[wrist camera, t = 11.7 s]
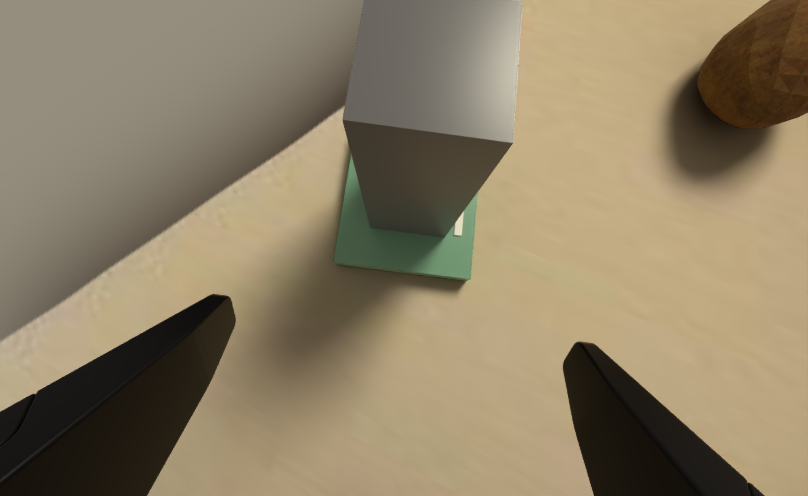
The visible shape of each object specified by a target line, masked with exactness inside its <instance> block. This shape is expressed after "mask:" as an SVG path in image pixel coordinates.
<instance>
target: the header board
mask: <svg viewBox="0 0 808 496" xmlns="http://www.w3.org/2000/svg"><path fill="white" fill-rule="evenodd" d="M477 195H478V192H477V194H476V195H475V196H474V198H473V199H472V200H471V202H470V203H469V205H468V206H467V207H466V209H465V210H464V212H463V213H462V214H461V216H460V217H459V218H458V220H457V221H456V223H455V224H454V225H453V227H452V228H451V230H450V231H449V232H448V234H447V235H446V236H445V238H444V237H437V236H429V235H421V234H414V233H406V232H399V231H391V230H383V229H376V228H370V225H369V221H368V217H367V213H366V209H365V205H364V202H363V198H362V194H361V190H360V186H359V182H358V178H357V174H356V170H355V166H354V163H353V159H352V155H351V158H350V164H349V170H348V176H347V182H346V188H345V194H344V200H343V206H342V212H341V218H340V224H339V230H338V236H337V242H336V248H335V254H334V260H333V262H334V263H335V264H337V265H345V266H353V267H361V268H369V269H377V270H385V271H392V272H400V273H408V274H416V275H424V276H432V277H440V278H447V279H455V280H463V281H467V280H470V278H471V266H472V254H473V242H474V230H475V219H476V207H477Z"/></svg>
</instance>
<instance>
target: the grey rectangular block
mask: <svg viewBox="0 0 808 496" xmlns="http://www.w3.org/2000/svg"><path fill="white" fill-rule="evenodd" d="M522 2H523V1H520V0H364V3H363V9H362V14H361V20H360V25H359V31H358V36H357V42H356V48H355V53H354V59H353V64H352V70H351V75H350V81H349V87H348V92H347V98H346V103H345V109H344V114H343V124H344V128H345V131H346V135H347V139H348V143H349V147H350V151H351V155H352V159H353V163H354V166H355V170H356V174H357V178H358V182H359V186H360V190H361V194H362V198H363V202H364V205H365V209H366V213H367V217H368V221H369V225H370V228H376V229H383V230H391V231H399V232H406V233H414V234H421V235H429V236H437V237H444V238H445V236H446V235H447V234H448V232H449V231H450V230H451V228H452V227H453V225H454V224H455V223H456V221H457V220H458V218H459V217H460V216H461V214H462V213H463V212H464V210H465V209H466V207H467V206H468V205H469V203H470V202H471V200H472V199H473V198H474V196H475V195H476V194H477V192H478V191H479V189H480V188H481V187H482V185H483V184H484V182H485V181H486V180H487V178H488V177H489V176H490V174H491V173H492V171H493V170H494V169H495V167H496V166H497V165H498V163H499V162H500V160H501V159H502V158H503V156H504V155H505V153H506V152H507V151H508V149H509V148H510V147H511V145H512V144H513V137H514V122H515V107H516V92H517V77H518V62H519V47H520V32H521V17H522Z"/></svg>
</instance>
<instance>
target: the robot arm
mask: <svg viewBox="0 0 808 496" xmlns="http://www.w3.org/2000/svg"><path fill="white" fill-rule="evenodd" d="M235 322H236V318H235V314H234V309H233V305H232V301H231V298H230V297H229V296H226V295H218V294H212V295H209V296H207V297H206V298H204V299H202V300H200V301H198V302H197V303H195V304H193V305H191V306H190V307H188V308H186V309H184V310H182V311H181V312H179V313H177V314H175V315H173V316H172V317H170V318H168V319H166V320H164V321H163V322H161V323H159V324H157V325H155V326H154V327H152V328H150V329H148V330H146V331H145V332H143V333H141V334H139V335H137V336H136V337H134V338H132V339H130V340H129V341H127V342H125V343H123V344H121V345H120V346H118V347H116V348H114V349H112V350H111V351H109V352H107V353H105V354H103V355H102V356H100V357H98V358H96V359H94V360H93V361H91V362H89V363H87V364H85V365H84V366H82V367H80V368H78V369H76V370H75V371H73V372H71V373H69V374H68V375H66V376H64V377H62V378H60V379H59V380H57V381H55V382H53V383H51V384H50V385H48V386H46V387H44V388H42V389H41V390H39V391H38V392H37V393H36V394H31V395H30V396H28V397H26V398H24V399H22V400H21V401H19V402H17V403H15V404H13V405H12V406H10V407H8V408H6V409H4V410H3V411H1V412H0V496H147V495H148V493H149V491H150V489H151V488H152V486H153V484H154V482H155V480H156V479H157V477H158V475H159V473H160V472H161V470H162V468H163V466H164V464H165V463H166V461H167V459H168V457H169V456H170V454H171V452H172V450H173V448H174V447H175V445H176V443H177V441H178V439H179V438H180V436H181V434H182V432H183V431H184V429H185V427H186V425H187V423H188V422H189V420H190V418H191V416H192V415H193V413H194V411H195V409H196V407H197V406H198V404H199V402H200V400H201V399H202V397H203V395H204V393H205V391H206V389H207V388H208V386H209V384H210V382H211V380H212V378H213V375H214V373H215V371H216V369H217V366H218V364H219V362H220V359H221V357H222V355H223V352H224V350H225V348H226V345H227V343H228V341H229V338H230V336H231V334H232V331H233V329H234V326H235ZM563 372H564V377H565V383H566V388H567V393H568V399H569V404H570V409H571V415H572V420H573V424H574V429H575V432H576V436H577V440H578V443H579V446H580V450H581V453H582V457H583V460H584V463H585V467H586V470H587V474H588V477H589V480H590V484H591V487H592V491H593V494H594V496H764V495H763V494H762V493H761V492H760V491H759V490H758V489H757V488H756V487H754V486H753V485H752V484H751V483H747V480H746V479H745V478H744V477H743V476H742V475H741V474H740V473H739V472H737V471H736V470H735V469H734V468H733V467H732V466H731V465H730V464H728V463H727V462H726V461H725V460H724V459H723V458H722V457H721V456H720V455H718V454H717V453H716V452H715V451H714V450H713V449H712V448H711V447H709V446H708V445H707V444H706V443H705V442H704V441H703V440H702V439H701V438H699V437H698V436H697V435H696V434H695V433H694V432H693V431H692V430H690V429H689V428H688V427H687V426H686V425H685V424H684V423H683V422H681V421H680V420H679V419H678V418H677V417H676V416H675V415H674V414H673V413H671V412H670V411H669V410H668V409H667V408H666V407H665V406H664V405H662V404H661V403H660V402H659V401H658V400H657V399H656V398H655V397H654V396H652V395H651V394H650V393H649V392H648V391H647V390H646V389H645V388H643V387H642V386H641V385H640V384H639V383H638V382H637V381H636V380H634V379H633V378H632V377H631V376H630V375H629V374H628V373H627V372H626V371H624V370H623V369H622V368H621V367H620V366H619V365H618V364H617V363H615V362H614V361H613V360H612V359H611V358H610V357H609V356H608V355H606V354H605V353H604V352H603V351H602V350H601V349H600V348H599V347H598V346H596V345H595V344H593V343H588V342H580V341H579V342H576V343H575V344H574V345H573V347H572V348H571V350H570V352H569V353H568V355H567V357H566V358H565V360H564V363H563Z"/></svg>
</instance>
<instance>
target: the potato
mask: <svg viewBox="0 0 808 496" xmlns="http://www.w3.org/2000/svg"><path fill="white" fill-rule="evenodd" d="M697 86H698V89H699V92H700V94H701V97H702V99H703V101H704V103H705V104H706V106H707V107H708V108H709V109H710V110H711V111H712V112H713V113H714V114H715V115H716V116H717V117H719V118H720V119H721V120H722V121H725V122H727V123H729V124H732V125H734V126H736V127H739V128H753V129H755V128H765V127H769V126H772V125H775V124H779V123H782V122H785V121H788V120H791V119H794V118H797V117H800V116H802V115H804V114H806V113H808V0H770V1H769V2H767V3H766V4H765V5H763V6H762V7H761V8H759V9H758V10H757V11H755V12H754V13H753V14H751V15H750V16H749V17H747V18H746V19H745V20H744V21H742V22H741V23H740V24H738V25H737V26H736V27H735V28H733V29H732V30H731V31H729V32H728V33H727V34H726V35H724V36H723V37H722V39H721V40H720V41H719V42H718V43H717V44H716V45H715V47H714V48H713V49H712V51H711V52H710V54H709V55H708V57H707V58H706V60H705V62H704V63H703V65H702V67H701V70H700V73H699V75H698V81H697Z"/></svg>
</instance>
